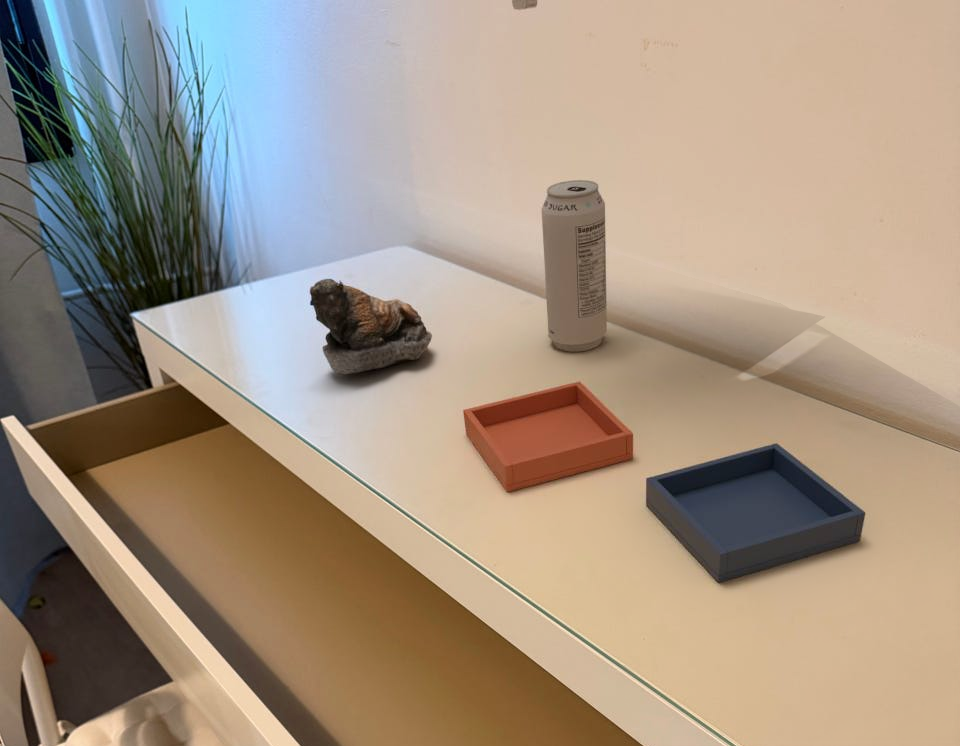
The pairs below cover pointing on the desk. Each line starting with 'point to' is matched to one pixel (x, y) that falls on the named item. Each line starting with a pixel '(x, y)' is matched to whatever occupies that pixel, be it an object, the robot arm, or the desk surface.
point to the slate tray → (752, 511)
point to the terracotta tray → (547, 435)
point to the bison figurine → (366, 328)
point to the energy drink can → (575, 264)
